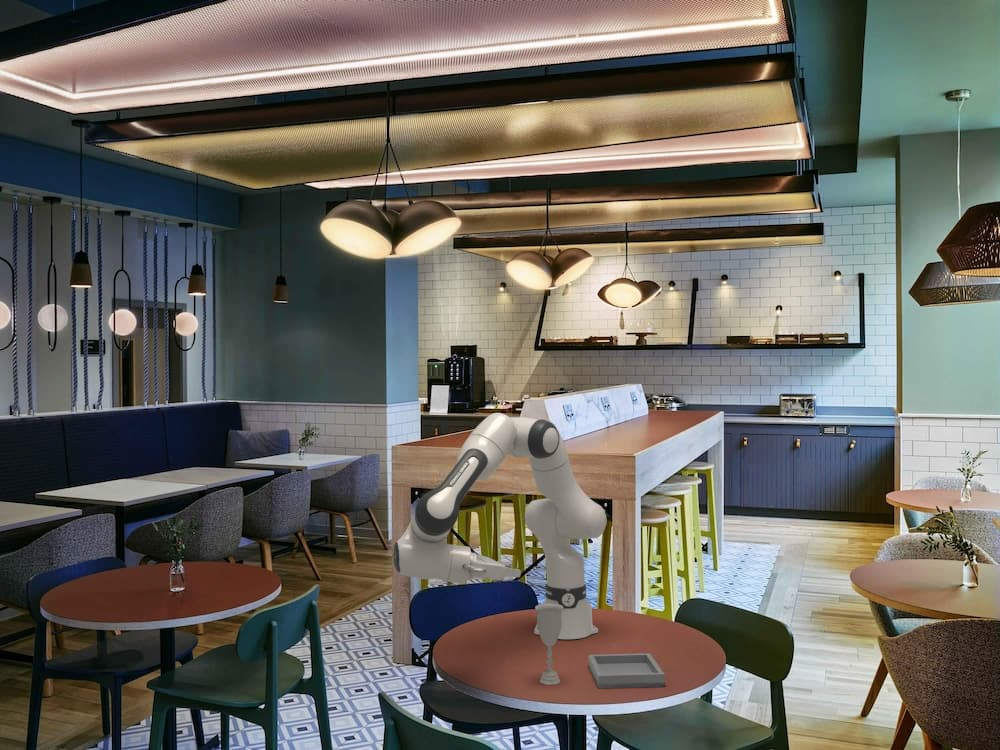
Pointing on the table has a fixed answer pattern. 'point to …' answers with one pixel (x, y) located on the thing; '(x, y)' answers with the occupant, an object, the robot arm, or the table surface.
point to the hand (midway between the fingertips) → (515, 571)
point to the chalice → (549, 636)
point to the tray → (626, 671)
